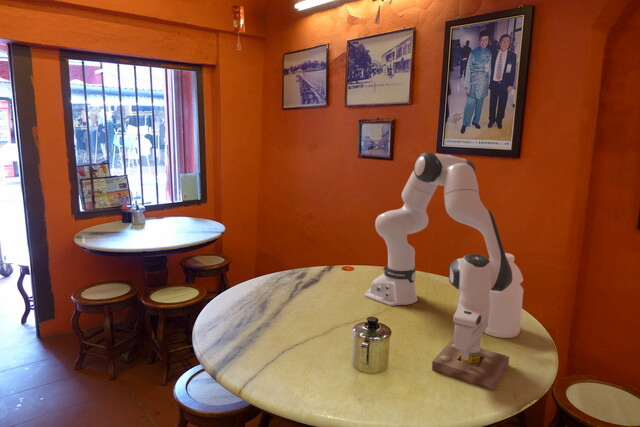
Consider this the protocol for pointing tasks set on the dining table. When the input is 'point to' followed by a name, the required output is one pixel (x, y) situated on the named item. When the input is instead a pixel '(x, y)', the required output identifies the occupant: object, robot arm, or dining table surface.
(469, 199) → the robot arm
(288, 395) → the dining table surface
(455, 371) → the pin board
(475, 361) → the supplement bottle
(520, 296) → the bottle
